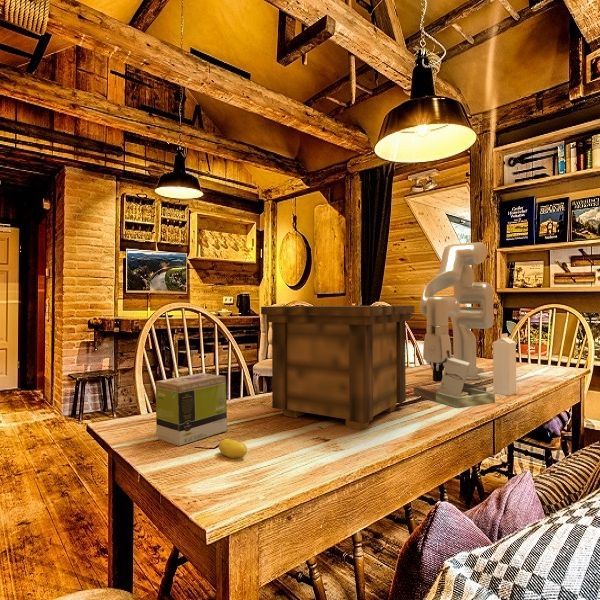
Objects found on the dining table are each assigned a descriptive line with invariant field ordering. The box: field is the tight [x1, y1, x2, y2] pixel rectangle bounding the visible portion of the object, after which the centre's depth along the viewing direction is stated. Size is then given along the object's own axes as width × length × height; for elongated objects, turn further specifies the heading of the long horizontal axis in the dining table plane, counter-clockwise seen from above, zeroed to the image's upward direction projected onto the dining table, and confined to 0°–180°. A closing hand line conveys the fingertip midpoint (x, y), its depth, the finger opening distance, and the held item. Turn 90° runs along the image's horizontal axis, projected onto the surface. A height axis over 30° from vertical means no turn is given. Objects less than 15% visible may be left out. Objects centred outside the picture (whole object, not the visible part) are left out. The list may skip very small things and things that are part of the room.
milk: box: [492, 332, 517, 396], centre depth 155 cm, size 6×6×22 cm
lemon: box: [218, 438, 248, 459], centre depth 92 cm, size 4×8×4 cm, turn 47°
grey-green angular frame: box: [413, 382, 496, 409], centre depth 148 cm, size 23×20×3 cm
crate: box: [260, 305, 416, 430], centre depth 130 cm, size 35×35×33 cm
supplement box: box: [437, 356, 470, 397], centre depth 149 cm, size 7×7×13 cm
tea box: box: [155, 372, 228, 447], centre depth 107 cm, size 15×10×15 cm
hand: (437, 381), depth 152 cm, fingers closed
